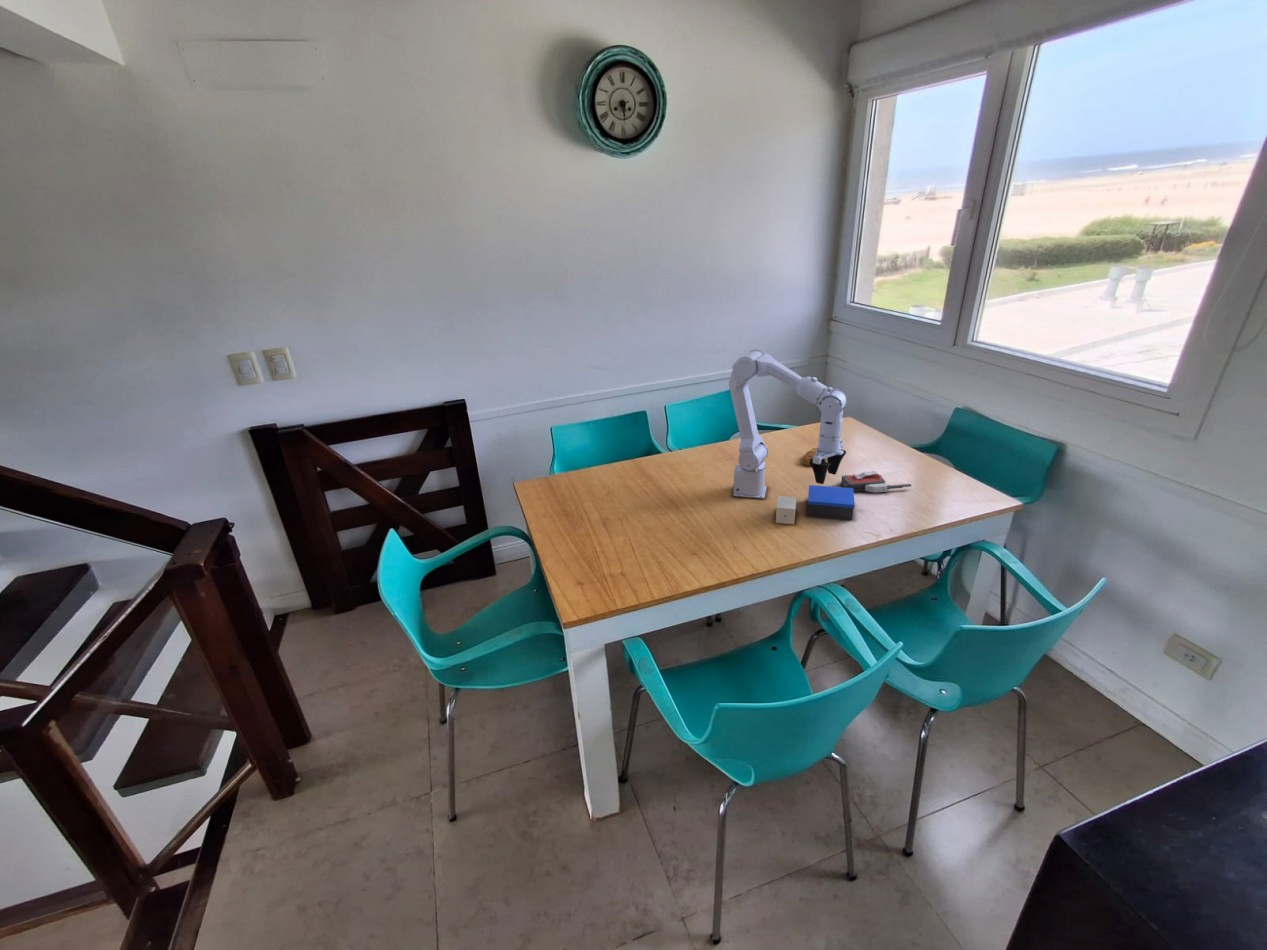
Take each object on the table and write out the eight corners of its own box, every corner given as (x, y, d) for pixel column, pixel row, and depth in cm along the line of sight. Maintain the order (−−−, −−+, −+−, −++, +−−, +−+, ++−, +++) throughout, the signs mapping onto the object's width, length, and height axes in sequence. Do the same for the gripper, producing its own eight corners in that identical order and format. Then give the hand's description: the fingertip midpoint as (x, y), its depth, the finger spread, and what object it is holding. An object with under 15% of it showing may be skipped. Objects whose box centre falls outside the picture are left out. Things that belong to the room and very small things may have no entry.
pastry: (816, 468, 187) (817, 458, 186) (797, 464, 191) (798, 454, 190) (827, 459, 194) (828, 449, 192) (809, 455, 198) (809, 445, 196)
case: (793, 524, 156) (795, 509, 154) (775, 522, 158) (776, 507, 156) (795, 512, 162) (796, 497, 160) (777, 510, 164) (778, 495, 162)
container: (806, 516, 160) (808, 501, 158) (807, 499, 169) (809, 484, 167) (852, 520, 156) (854, 505, 154) (851, 503, 165) (853, 488, 163)
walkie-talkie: (847, 496, 169) (912, 491, 169) (848, 483, 167) (914, 477, 167) (836, 483, 177) (898, 478, 177) (837, 470, 175) (900, 465, 175)
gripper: (831, 445, 147) (827, 491, 153) (855, 429, 156) (850, 472, 162) (807, 440, 152) (803, 484, 158) (831, 424, 161) (827, 466, 167)
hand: (825, 478), depth 160 cm, fingers open, 7 cm apart
